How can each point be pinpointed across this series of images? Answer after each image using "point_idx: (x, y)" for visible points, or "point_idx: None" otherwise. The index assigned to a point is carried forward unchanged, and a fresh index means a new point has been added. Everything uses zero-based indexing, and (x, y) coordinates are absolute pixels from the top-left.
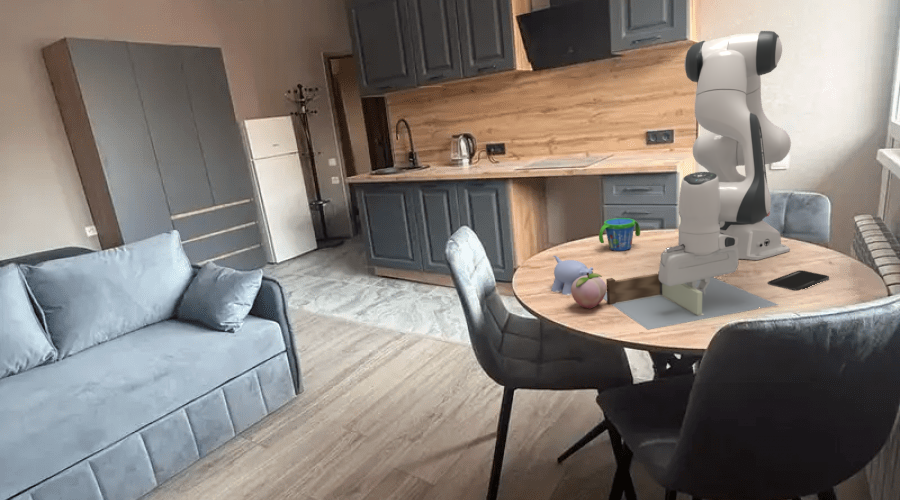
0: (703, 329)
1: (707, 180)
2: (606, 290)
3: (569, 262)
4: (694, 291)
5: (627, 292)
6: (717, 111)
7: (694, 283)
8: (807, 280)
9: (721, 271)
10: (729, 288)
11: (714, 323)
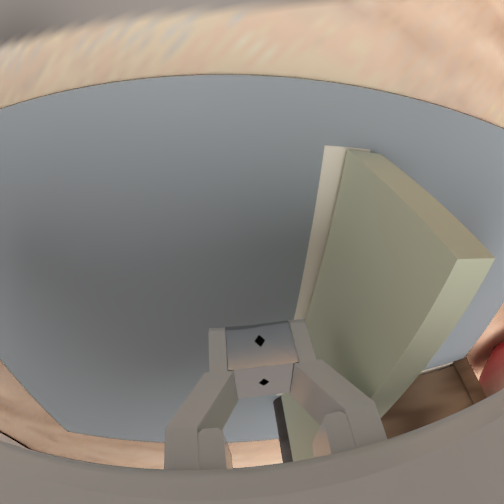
0: (452, 11)
1: None
2: (501, 389)
3: None
4: (467, 303)
5: (431, 398)
6: None
7: (355, 419)
8: None
9: (44, 493)
10: (19, 359)
11: (348, 19)
